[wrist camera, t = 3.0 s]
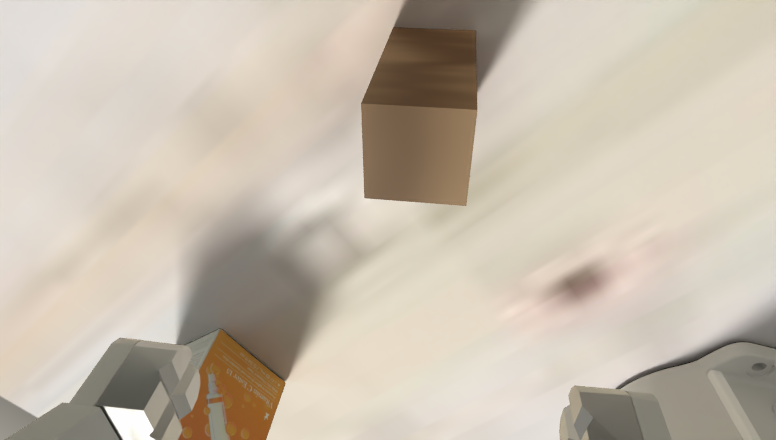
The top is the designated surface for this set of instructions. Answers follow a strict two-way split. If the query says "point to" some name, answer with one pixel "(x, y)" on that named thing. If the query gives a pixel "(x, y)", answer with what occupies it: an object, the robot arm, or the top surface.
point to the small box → (230, 392)
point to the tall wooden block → (421, 117)
